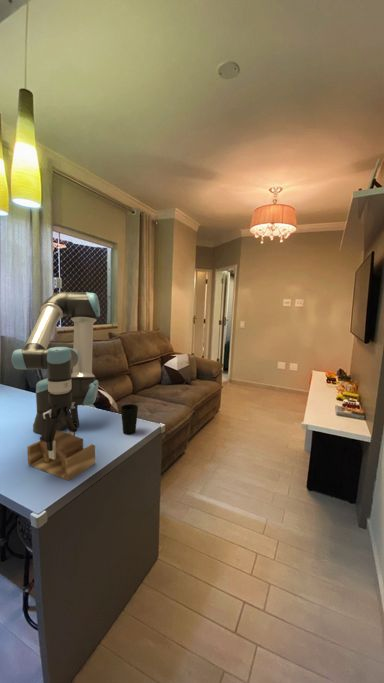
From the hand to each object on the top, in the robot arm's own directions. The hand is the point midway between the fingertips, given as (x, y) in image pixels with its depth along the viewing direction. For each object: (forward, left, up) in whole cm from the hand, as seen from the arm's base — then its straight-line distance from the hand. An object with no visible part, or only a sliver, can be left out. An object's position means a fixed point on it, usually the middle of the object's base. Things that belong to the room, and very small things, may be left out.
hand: (61, 453), depth 102 cm
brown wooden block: (0, 0, 0) cm, 0 cm away
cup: (+5, +33, -4) cm, 34 cm away
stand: (0, 0, -4) cm, 4 cm away
